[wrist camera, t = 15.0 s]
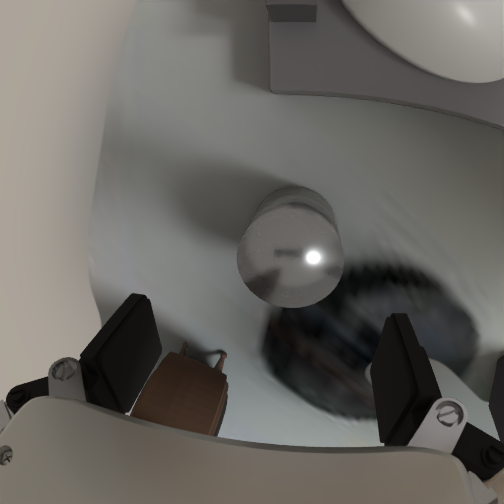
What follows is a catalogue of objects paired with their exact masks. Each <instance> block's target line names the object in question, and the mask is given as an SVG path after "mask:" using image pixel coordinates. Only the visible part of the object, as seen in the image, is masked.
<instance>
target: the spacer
mask: <svg viewBox="0 0 504 504" xmlns="http://www.w3.org/2000/svg"><path fill="white" fill-rule="evenodd" d="M237 265H238V269H239V273H240V275H241V278H242V279H243V281H244V283H245V284H246V286H247V287H248V288H249V289H250V290H251V291H252V292H253V293H254V294H255V295H256V296H257V297H259V298H260V299H262V300H264V301H266V302H268V303H270V304H273V305H276V306H280V307H287V308H297V307H304V306H308V305H311V304H314V303H316V302H318V301H320V300H322V299H323V298H325V297H326V296H327V295H329V294H330V293H331V292H332V291H333V289H334V288H335V287H336V285H337V284H338V282H339V280H340V278H341V275H342V272H343V268H344V254H343V249H342V245H341V241H340V236H339V232H338V228H337V224H336V219H335V216H334V213H333V210H332V208H331V206H330V205H329V203H328V202H327V201H326V200H325V199H324V198H323V197H322V196H321V195H320V194H318V193H317V192H315V191H313V190H311V189H308V188H304V187H298V186H291V187H285V188H281V189H279V190H276V191H274V192H273V193H271V194H270V195H269V196H267V197H266V198H265V199H264V200H263V202H262V203H261V205H260V206H259V208H258V210H257V212H256V213H255V215H254V217H253V219H252V221H251V222H250V224H249V226H248V228H247V230H246V231H245V233H244V235H243V237H242V239H241V241H240V244H239V247H238V252H237Z"/></svg>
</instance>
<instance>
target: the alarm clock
mask: <svg viewBox="0 0 504 504" xmlns="http://www.w3.org/2000/svg"><path fill="white" fill-rule="evenodd" d="M187 347H188V343H187V342H184V343H183V347H182V349H181V352H180V354H176V353H174V352H170V353H169V354H168V355H167V356H166V357H165V358H164V359H163V361H162V362H161V364H160V365H159V366H158V368H157V369H156V370H155V371H154V372H153V373H152V375H151V376H150V378H149V379H148V381H147V382H146V384H145V386H144V387H143V389H142V391H141V393H140V395H139V397H138V399H137V401H136V403H135V405H134V407H133V409H132V412H131V414H130V416H132V417H135V418H138V419H142V420H145V421H149V422H152V423H156V424H160V425H164V426H168V427H172V428H176V429H181V430H185V431H190V432H194V433H199V434H204V435H210V436H215V437H217V436H218V433H219V430H220V427H221V424H222V421H223V417H224V414H225V410H226V406H227V398H228V395H227V391H228V383H227V381H226V379H227V375H225V374H224V373H222V369H223V364H224V359H225V358H226V357H227V354H226V353H225V352H222V353H221V355H220V356H221V357H220V359H219V361H218V362H217V364H216V366H215V367H214V368H212V367H210V366H208V365H206V364H204V363H202V362H200V361H197V360H195V359H192V358H189V357H185V356H186V348H187Z"/></svg>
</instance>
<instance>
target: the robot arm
mask: <svg viewBox="0 0 504 504" xmlns="http://www.w3.org/2000/svg"><path fill="white" fill-rule="evenodd" d="M161 351H162V347H161V343H160V339H159V335H158V331H157V327H156V323H155V319H154V315H153V310H152V306H151V302H150V300H149V299H147V297H146V295H143V294H135V293H132V294H131V295H130V296H129V297H128V298H127V299H126V300H125V301H124V303H123V304H122V305H121V306H120V307H119V308H118V310H117V311H116V312H115V313H114V314H113V315H112V317H111V318H110V319H109V320H108V321H107V323H106V324H105V325H104V326H103V327H102V329H101V330H100V331H99V332H98V333H97V335H96V336H95V337H94V338H93V340H92V341H91V342H90V343H89V344H88V346H87V347H86V348H85V349H84V351H83V352H82V353H81V354H80V357H81V358H80V360H79V361H78V360H77V359H74V358H71V357H66V358H62V359H59V360H58V361H56V362H54V363H53V364H52V365H51V367H50V369H49V372H48V376H47V377H44V378H41V379H38V380H34V381H31V382H28V383H24V384H21V385H18V386H15V387H14V388H12V389H11V390H10V392H9V393H8V395H7V397H6V402H4V401H3V400H1V401H0V504H504V444H503V443H501V442H500V441H499V440H496V439H495V438H493V437H492V436H490V435H488V434H486V433H485V432H483V431H482V430H480V429H478V428H477V427H475V426H473V425H472V424H470V423H468V422H467V417H468V415H467V410H466V408H465V406H464V405H463V404H462V403H461V402H460V401H458V400H457V399H454V398H450V397H444V398H442V396H441V393H440V390H439V387H438V384H437V381H436V378H435V375H434V372H433V370H432V367H431V364H430V361H429V359H428V356H427V354H426V351H425V349H424V347H422V346H420V345H419V342H418V340H417V337H416V335H415V332H414V330H413V327H412V325H411V322H410V320H409V318H408V315H407V314H406V313H392V314H391V316H390V317H387V318H386V320H385V324H384V327H383V331H382V334H381V337H380V340H379V344H378V347H377V350H376V353H375V356H374V359H373V362H372V365H371V369H370V375H371V380H372V387H373V393H374V400H375V406H376V414H377V421H378V429H379V437H380V442H381V443H384V445H385V446H377V447H305V446H288V445H276V444H266V443H256V442H248V441H241V440H234V439H227V438H221V437H215V436H210V435H204V434H199V433H194V432H190V431H185V430H181V429H176V428H172V427H168V426H164V425H160V424H156V423H152V422H149V421H145V420H142V419H138V418H135V417H132V416H128V415H125V413H127V412H129V411H130V410H131V408H132V406H133V404H134V402H135V400H136V399H137V397H138V395H139V393H140V391H141V389H142V388H143V386H144V384H145V382H146V380H147V378H148V377H149V375H150V373H151V371H152V369H153V368H154V366H155V364H156V362H157V360H158V359H159V357H160V355H161Z"/></svg>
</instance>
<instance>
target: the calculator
mask: <svg viewBox="0 0 504 504" xmlns="http://www.w3.org/2000/svg"><path fill="white" fill-rule="evenodd" d="M489 409H490V412H491V415H492V418H493V420H494V423H495V426H496V429H497V432H498V435H499V438H500V442H501V443H503V444H504V357H502V358H500V359H499V360H498V363H497V368H496V374H495V379H494V384H493V388H492V393H491V397H490V401H489Z"/></svg>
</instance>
